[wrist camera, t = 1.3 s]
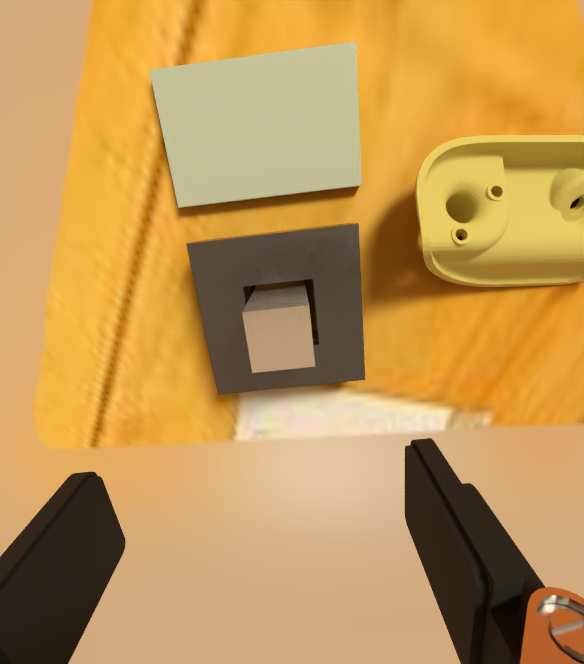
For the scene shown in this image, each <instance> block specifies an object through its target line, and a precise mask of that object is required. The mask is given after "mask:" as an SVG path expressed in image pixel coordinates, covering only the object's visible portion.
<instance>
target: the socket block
mask: <svg viewBox="0 0 584 664" xmlns="http://www.w3.org/2000/svg"><path fill="white" fill-rule="evenodd" d="M187 249H188V254H189V258H190V263H191V268H192V273H193V277H194V282H195V287H196V292H197V296H198V301H199V306H200V311H201V315H202V320H203V325H204V330H205V334H206V339H207V344H208V349H209V353H210V358H211V363H212V367H213V372H214V377H215V382H216V386H217V391H218V394H228V393H238V392H248V391H258V390H268V389H278V388H288V387H298V386H308V385H318V384H328V383H338V382H348V381H358V380H365V365H364V342H363V318H362V295H361V272H360V248H359V225H358V223H347V224H338V225H330V226H321V227H313V228H304V229H296V230H287V231H279V232H270V233H262V234H253V235H245V236H236V237H228V238H219V239H211V240H202V241H196V242H192V243H187ZM306 279H311V283H312V293H313V304H314V315H315V326H316V331H312V339H313V349H314V359H315V367H306V368H296V369H286V370H277V371H267V372H257V373H252V369H251V363H250V357H249V351H248V345H247V339H246V333H245V327H244V321H243V315H242V312H243V310H244V308H245V306H246V304H247V302H248V301H249V299H250V297H251V290H250V286H253V285H262V284H271V283H280V282H289V281H298V280H306Z"/></svg>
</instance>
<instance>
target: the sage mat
mask: <svg viewBox="0 0 584 664" xmlns="http://www.w3.org/2000/svg"><path fill="white" fill-rule="evenodd" d="M149 71H150V76H151V81H152V86H153V90H154V95H155V100H156V105H157V109H158V114H159V119H160V123H161V128H162V133H163V138H164V142H165V147H166V152H167V157H168V161H169V166H170V171H171V175H172V180H173V185H174V190H175V194H176V199H177V204H178V207H179V208H185V207H193V206H201V205H209V204H218V203H226V202H234V201H242V200H251V199H259V198H267V197H275V196H284V195H292V194H300V193H308V192H316V191H325V190H333V189H341V188H349V187H358V186H361V185H362V180H361V154H360V128H359V102H358V76H357V49H356V41H355V42H348V43H340V44H333V45H326V46H319V47H311V48H304V49H297V50H290V51H282V52H275V53H268V54H260V55H253V56H246V57H239V58H231V59H224V60H217V61H209V62H202V63H195V64H188V65H180V66H173V67H166V68H159V69H151V70H149Z"/></svg>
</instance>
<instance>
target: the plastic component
mask: <svg viewBox="0 0 584 664" xmlns="http://www.w3.org/2000/svg"><path fill="white" fill-rule="evenodd" d="M491 191H492V193H491ZM415 198H416V209H417V216H418V222H419V227H420V233H421V242H422V250H423V258H424V262H425V264H426V266H427V268H428V269H429V270H430V271H431V272H432V273H433V274H435V275H436V276H438V277H440V278H441V279H444V280H446V281H449V282H452V283H456V284H460V285H467V286H478V287H509V286H539V285H566V284H573V283H578V282H583V281H584V135H485V136H471V137H464V138H458V139H454V140H451V141H448V142H446V143H444V144H442V145H440V146H439V147H437V148H436V149H435V150H433V151H432V152H431V153H430V154H429V155H428V157H427V158H426V159H425V161H424V162H423V164H422V166H421V168H420V170H419V172H418V175H417V179H416V185H415ZM577 198H580V199H579V202H578V204H577V205H576V206H575V207H573V208H571V209H570V206H571V204H572V202H573V201H574V200H575V199H577ZM460 235H461V236H462V240H459V239H458V238H457V237H459V236H460Z"/></svg>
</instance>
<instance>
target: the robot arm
mask: <svg viewBox="0 0 584 664" xmlns="http://www.w3.org/2000/svg"><path fill="white" fill-rule="evenodd" d="M405 518H406V522H407V526H408V529H409V531H410V534H411V536H412V539H413V542H414V544H415V547H416V549H417V552H418V554H419V557H420V560H421V562H422V565H423V567H424V570H425V572H426V575H427V578H428V580H429V583H430V585H431V588H432V591H433V593H434V596H435V598H436V601H437V603H438V606H439V609H440V611H441V614H442V616H443V619H444V621H445V624H446V626H447V629H448V632H449V634H450V637H451V639H452V642H453V645H454V647H455V650H456V652H457V655H458V657H459V660H460V662H461V664H584V598H582V597H580V596H578V595H577V594H574V593H572V592H569V591H566V590H564V589H560V588H553V587H545V586H544V585H543V583H542V582H541V580H540V579H539V578H538V576H537V575H536V573H535V572H534V570H533V569H532V568H531V566H530V565H529V563H528V562H527V560H526V559H525V557H524V556H523V555H522V553H521V552H520V550H519V549H518V547H517V546H516V545H515V543H514V542H513V540H512V539H511V537H510V536H509V535H508V533H507V532H506V530H505V529H504V527H503V526H502V525H501V523H500V522H499V520H498V519H497V517H496V516H495V515H494V513H493V512H492V510H491V509H490V507H489V506H488V505H487V503H486V502H485V500H484V499H483V497H482V496H481V495H480V493H479V492H478V490H477V489H476V488H475V487H474V486H473V485H472V484H470V483H469V484H468V483H467V484H462V483H461V482H460V480H459V479H458V478H457V476H456V474H455V473H454V471H453V470H452V468H451V466H450V465H449V464H448V462H447V460H446V459H445V458H444V456H443V454H442V453H441V451H440V450H439V448H438V447H437V445H436V444H435V442H434V441H433V440H432V439H431V438H428V439H419V440H412V441H411V445H410V446H406V447H405ZM124 549H125V537H124V535H123V532H122V530H121V527H120V524H119V522H118V519H117V516H116V514H115V511H114V509H113V506H112V503H111V501H110V498H109V495H108V493H107V490H106V488H105V485H104V482H103V480H102V478H101V477H100V476H97V474H96V473H95V472H84V473H74V474H72V475H70V477H68V478H67V480H66V481H65V482H64V483H63V484H62V486H61V487H60V488H59V489H58V490H57V491H56V493H55V494H54V495H53V496H52V497H51V498H50V499H49V501H48V502H47V503H46V504H45V505H44V506H43V508H42V509H41V510H40V511H39V512H38V513H37V515H36V516H35V517H34V518H33V519H32V520H31V522H30V523H29V524H28V525H27V526H26V527H25V529H24V530H23V531H22V532H21V533H20V535H19V536H18V537H17V538H16V539H15V540H14V541H13V543H12V544H11V545H10V546H9V547H8V549H7V550H6V551H5V552H4V553H3V554H2V555H1V557H0V664H68V662H69V661H70V659H71V656H72V655H73V653H74V651H75V649H76V647H77V645H78V643H79V640H80V639H81V637H82V635H83V633H84V631H85V628H86V627H87V625H88V623H89V621H90V618H91V617H92V614H93V612H94V611H95V608H96V607H97V605H98V602H99V601H100V599H101V596H102V594H103V592H104V590H105V588H106V586H107V584H108V582H109V580H110V578H111V576H112V574H113V572H114V570H115V568H116V566H117V564H118V562H119V560H120V558H121V556H122V554H123V552H124Z"/></svg>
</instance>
